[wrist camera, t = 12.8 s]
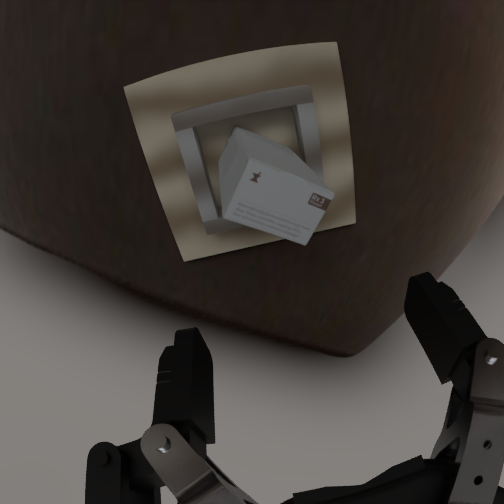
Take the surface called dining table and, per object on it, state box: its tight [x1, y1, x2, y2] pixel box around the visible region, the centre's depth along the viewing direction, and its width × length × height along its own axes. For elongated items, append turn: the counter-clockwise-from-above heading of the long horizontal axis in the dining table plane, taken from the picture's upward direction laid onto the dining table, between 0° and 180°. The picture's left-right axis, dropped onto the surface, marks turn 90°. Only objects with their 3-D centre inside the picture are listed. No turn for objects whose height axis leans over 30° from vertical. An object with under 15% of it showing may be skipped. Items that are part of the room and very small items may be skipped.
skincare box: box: [218, 126, 335, 245], centre depth 23 cm, size 6×4×12 cm
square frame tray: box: [124, 42, 356, 262], centre depth 27 cm, size 20×20×4 cm
